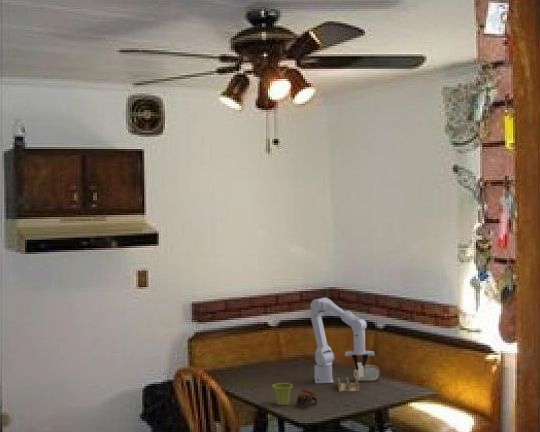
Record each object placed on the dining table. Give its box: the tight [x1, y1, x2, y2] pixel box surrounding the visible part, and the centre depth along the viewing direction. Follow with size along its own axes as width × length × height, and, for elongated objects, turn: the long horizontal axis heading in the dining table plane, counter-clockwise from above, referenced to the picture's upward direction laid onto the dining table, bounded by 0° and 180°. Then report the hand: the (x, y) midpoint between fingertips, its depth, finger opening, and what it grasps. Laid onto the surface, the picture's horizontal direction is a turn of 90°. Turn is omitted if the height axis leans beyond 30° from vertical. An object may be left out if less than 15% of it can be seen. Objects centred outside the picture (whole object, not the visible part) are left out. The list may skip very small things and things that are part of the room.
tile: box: [357, 362, 364, 377], centre depth 330 cm, size 2×9×5 cm, turn 178°
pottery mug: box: [295, 389, 318, 409], centre depth 303 cm, size 12×10×8 cm
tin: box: [351, 364, 381, 382], centre depth 344 cm, size 15×3×8 cm, turn 84°
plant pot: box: [272, 382, 293, 406], centre depth 307 cm, size 9×9×9 cm
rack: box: [337, 376, 360, 392], centre depth 331 cm, size 10×12×4 cm
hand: (360, 369), depth 330 cm, fingers closed on tile, 2 cm apart
